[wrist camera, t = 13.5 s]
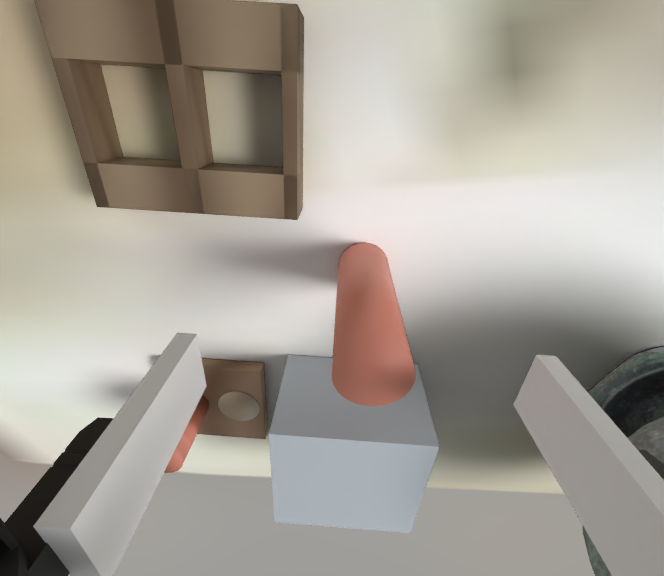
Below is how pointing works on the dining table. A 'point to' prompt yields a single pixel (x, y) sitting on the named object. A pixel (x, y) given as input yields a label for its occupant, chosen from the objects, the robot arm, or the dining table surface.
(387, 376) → the peg
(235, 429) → the board
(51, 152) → the dining table surface
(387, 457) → the cover
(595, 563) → the bowl
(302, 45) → the board
